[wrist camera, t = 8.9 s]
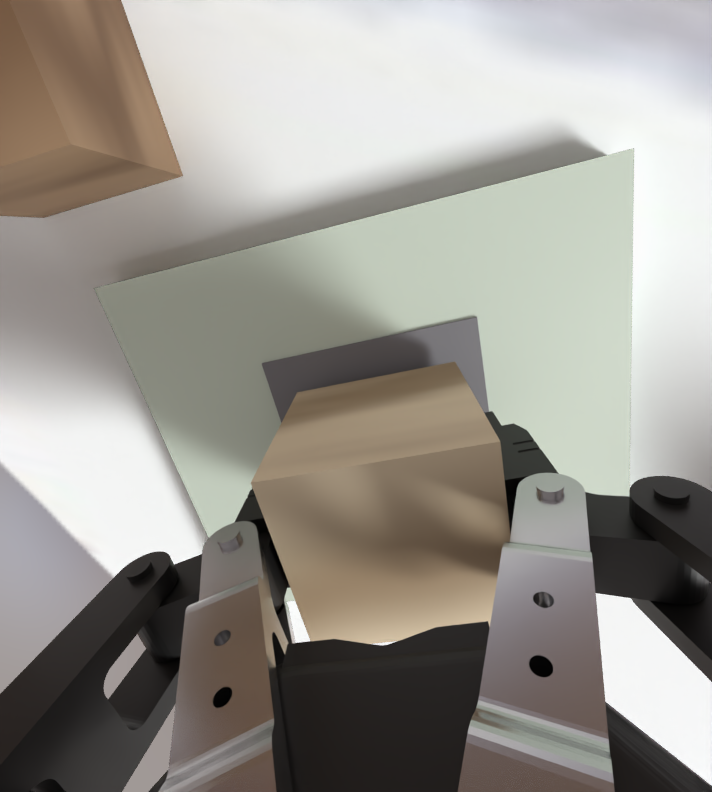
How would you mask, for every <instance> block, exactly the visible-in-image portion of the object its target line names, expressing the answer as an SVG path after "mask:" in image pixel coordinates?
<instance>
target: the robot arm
mask: <svg viewBox="0 0 712 792" xmlns="http://www.w3.org/2000/svg"><path fill="white" fill-rule="evenodd" d="M484 413H485V415H486V417H487V419H488V421H489V422H490V424H491V426H492V428H493V429H494V431H495V433H496V435H497V436H498V438H499V440H500V443H501V452H502V461H503V470H504V480H505V489H506V498H507V507H508V516H509V526H510V542H506V541H505V542H504V543H503V547H502V552H501V559H500V565H499V572H498V578H497V584H496V591H495V597H494V603H493V610H492V616H491V623H490V627H489V623H488V621H486V622H477V623H468V624H459V625H450V626H442V627H435V628H432V629H430V630H427V631H424V632H422V633H419V634H416V635H413V636H411V637H408V638H405V639H403V640H400V641H397V642H395V643H392V644H389V645H384V646H380V645H372V644H366V643H359V642H352V641H346V640H339V639H328V640H319V641H310V642H301V643H295V638H294V633H293V628H292V623H291V618H290V613H289V608H288V605H287V602H286V600H285V594H286V591H287V588H290V585H289V583H288V580H287V577H286V575H285V572H284V569H283V567H282V564H281V562H280V559H279V556H278V554H277V551H276V548H275V546H274V543H273V540H272V538H271V535H270V533H269V530H268V527H267V525H266V522H265V519H264V517H263V514H262V512H261V509H260V506H259V504H258V501H257V498H256V496H255V493H254V491H253V488H252V489H251V490H250V492H249V494H248V498H246V500H245V502H244V504H243V506H242V508H241V510H240V512H239V514H238V516H237V518H236V520H235V522H234V523H232V524H229V525H226V526H224V527H223V528H221V529H219V530H218V531H216V532H215V533H214V534H212V535H211V536H210V537H209V539H208V540H207V541H206V543H205V544H204V546H203V550H202V554H201V555H199V556H196V557H193V558H191V559H188V560H186V561H183V562H180V563H178V564H175V565H174V564H173V562H172V560H171V558H170V556H169V554H167V553H165V552H153V553H149V554H146V555H144V556H142V557H140V558H138V559H136V560H134V561H133V562H131V563H130V564H128V565H127V566H126V567H124V568H123V569H122V570H121V571H120V572H119V573H118V574H117V575H116V576H115V577H114V578H113V579H112V580H111V581H110V582H109V583H108V584H107V585H106V586H105V587H104V588H103V590H102V591H100V592H99V594H98V595H97V596H96V597H95V598H94V599H93V600H92V601H91V602H90V603H89V604H88V605H87V606H86V607H85V608H84V609H83V610H82V611H81V612H80V613H79V614H78V615H77V616H76V617H75V618H74V619H73V620H72V621H71V622H70V623H69V624H68V625H67V626H66V627H65V628H64V629H63V631H61V632H60V633H59V634H58V636H56V638H55V639H54V640H53V641H52V642H51V643H50V644H49V645H48V646H47V647H46V648H45V649H44V650H43V651H42V652H41V653H40V654H39V655H38V656H37V657H36V658H35V659H34V660H33V661H32V662H31V663H30V664H29V665H28V666H27V667H26V668H25V669H24V670H23V671H22V672H21V673H20V674H19V675H18V676H17V677H16V678H15V679H14V681H13V682H12V683H11V684H10V685H9V686H8V687H7V688H6V689H5V690H4V691H3V692H2V693H1V694H0V792H122V791H123V789H124V787H125V786H126V784H127V782H128V781H129V779H130V777H131V776H132V774H133V772H134V771H135V769H136V768H137V766H138V764H139V763H140V761H141V759H142V758H143V756H144V754H145V753H146V751H147V749H148V748H149V746H150V745H151V743H152V741H153V740H154V738H155V736H156V735H157V733H158V731H159V730H160V728H161V726H162V725H163V723H164V721H165V720H166V718H167V716H168V715H169V713H170V712H171V710H172V708H173V706H174V705H175V714H174V723H173V733H172V742H171V751H170V762H169V769H168V771H167V772H166V773H165V774H164V775H163V776H162V777H161V778H160V780H159V781H158V782H157V783H156V784H155V785H154V786H153V787H152V788H151V790H150V791H149V792H712V786H711V785H710V784H709V783H707V782H706V781H705V780H703V779H702V778H701V777H700V776H698V775H697V774H696V773H695V772H693V771H692V770H691V769H690V768H688V767H687V766H686V765H685V764H683V763H682V762H681V761H679V760H678V759H677V758H676V757H674V756H673V755H672V754H671V753H669V752H668V751H667V750H666V749H664V748H663V747H662V746H661V745H659V744H658V743H657V742H655V741H654V740H653V739H652V738H650V737H649V736H648V735H647V734H645V733H644V732H643V731H642V730H640V729H639V728H638V727H636V726H635V725H634V724H633V723H631V722H630V721H629V720H628V719H626V718H625V717H624V716H623V715H621V714H620V713H619V712H618V711H616V710H615V709H614V708H612V707H611V706H610V705H609V704H607V703H606V702H605V694H604V683H603V672H602V661H601V650H600V638H599V627H598V616H597V605H596V594H595V593H600V594H607V595H614V596H621V597H628V598H631V599H632V600H633V602H634V603H635V604H636V605H637V606H638V607H639V609H640V610H641V611H642V612H643V613H644V614H645V615H646V616H647V617H648V618H649V619H650V620H651V621H652V622H653V623H654V624H655V625H656V626H657V627H658V628H659V629H660V630H661V631H662V632H663V633H664V634H665V635H666V636H667V637H668V638H669V639H670V640H671V641H672V642H673V643H674V644H675V645H676V646H677V647H678V648H679V649H680V650H681V651H682V652H683V653H684V654H685V655H686V656H687V657H688V658H689V659H690V660H691V661H692V662H693V663H694V664H695V665H696V666H697V667H698V668H699V669H700V670H701V671H702V672H703V673H704V674H705V675H706V676H707V677H708V678H709V680H710V681H711V682H712V492H711V491H710V490H708V489H706V488H704V487H702V486H700V485H698V484H696V483H694V482H691V481H688V480H685V479H681V478H676V477H669V476H653V477H647V478H643V479H640V480H638V481H636V482H635V483H634V484H632V486H631V487H630V494H629V496H611V495H598V494H592V493H588V492H585V490H584V488H583V486H582V485H581V484H580V483H579V482H578V481H577V480H575V479H573V478H571V477H569V476H566V475H562V474H559V473H558V472H557V470H556V469H555V468H554V466H553V465H552V464H551V462H550V461H549V459H548V458H547V457H546V455H545V454H544V453H543V451H542V450H541V449H540V448H539V446H538V445H537V443H536V442H535V441H534V439H533V438H532V436H531V435H530V434H529V432H528V431H527V430H526V429H524V428H522V427H520V426H518V425H516V424H514V423H513V424H508V425H502V426H501V424H500V422H499V421H498V419H497V417H496V416H495V414H494V413H493V411H490V412H484ZM137 634H138V635H139V637H140V639H141V641H142V642H143V644H144V646H145V647H146V650H145V651H144V652H143V654H142V655H141V657H140V658H139V659H138V661H137V662H136V663H135V665H134V666H133V667H132V668H131V670H130V671H129V673H128V674H127V675H126V676H125V678H124V679H123V680H122V682H121V683H120V685H119V686H118V687H117V689H116V690H115V691H114V693H113V694H112V695H111V697H110V698H109V699H107V698H106V696H105V694H104V689H103V687H104V680H105V677H106V675H107V673H108V671H109V669H110V667H111V666H112V665H113V664H114V662H115V661H116V660H117V659H118V657H119V656H120V655H121V653H122V652H123V651H124V650H125V648H126V647H127V646H128V645H129V643H130V642H131V641H132V640H133V638H134V637H135V636H136V635H137ZM175 703H176V704H175Z"/></svg>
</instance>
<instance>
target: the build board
mask: <svg viewBox="0 0 712 792" xmlns="http://www.w3.org/2000/svg"><path fill="white" fill-rule="evenodd" d="M633 192H634V148H633V149H629V150H625V151H621V152H618V153H614V154H610V155H606V156H602V157H598V158H594V159H591V160H587V161H583V162H579V163H575V164H571V165H567V166H564V167H560V168H556V169H552V170H548V171H544V172H540V173H537V174H533V175H529V176H525V177H521V178H517V179H513V180H510V181H506V182H502V183H498V184H494V185H490V186H486V187H483V188H479V189H475V190H471V191H467V192H463V193H459V194H456V195H452V196H448V197H444V198H440V199H436V200H432V201H429V202H425V203H421V204H417V205H413V206H409V207H405V208H402V209H398V210H394V211H390V212H386V213H382V214H378V215H375V216H371V217H367V218H363V219H359V220H355V221H351V222H348V223H344V224H340V225H336V226H332V227H328V228H324V229H321V230H317V231H313V232H309V233H305V234H301V235H297V236H294V237H290V238H286V239H282V240H278V241H274V242H270V243H267V244H263V245H259V246H255V247H251V248H247V249H243V250H240V251H236V252H232V253H228V254H224V255H220V256H216V257H213V258H209V259H205V260H201V261H197V262H193V263H189V264H186V265H182V266H178V267H174V268H170V269H166V270H162V271H159V272H155V273H151V274H147V275H143V276H139V277H135V278H132V279H128V280H124V281H120V282H116V283H112V284H108V285H105V286H101V287H97V288H94V290H95V292H96V294H97V296H98V299H99V301H100V303H101V305H102V307H103V309H104V312H105V314H106V316H107V318H108V320H109V322H110V325H111V327H112V329H113V331H114V333H115V335H116V338H117V340H118V342H119V344H120V346H121V349H122V351H123V353H124V355H125V357H126V359H127V362H128V364H129V366H130V368H131V370H132V372H133V375H134V377H135V379H136V381H137V383H138V385H139V388H140V390H141V392H142V394H143V396H144V399H145V401H146V403H147V405H148V407H149V409H150V412H151V414H152V416H153V418H154V420H155V422H156V425H157V427H158V429H159V431H160V433H161V435H162V438H163V440H164V442H165V444H166V446H167V449H168V451H169V453H170V455H171V457H172V459H173V462H174V464H175V466H176V468H177V470H178V472H179V475H180V477H181V479H182V481H183V483H184V485H185V488H186V490H187V492H188V494H189V496H190V499H191V501H192V503H193V505H194V507H195V509H196V512H197V514H198V516H199V518H200V520H201V522H202V525H203V527H204V529H205V531H206V533H207V535H208V538H209V537H210V536H211V535H212V534H214V533H215V532H216V531H218V530H219V529H221V528H223V527H224V526H226V525H229V524H232V523H234V522H235V520H236V518H237V516H238V514H239V512H240V510H241V508H242V506H243V504H244V502H245V500H246V498H248V494H249V492H250V490H251V489H252V485H251V481H252V479H253V477H254V475H255V473H256V472H257V470H258V468H259V466H260V464H261V462H262V460H263V458H264V456H265V454H266V452H267V450H268V448H269V446H270V444H271V442H272V440H273V438H274V436H275V435H276V433H277V431H278V429H279V427H280V425H281V423H282V421H283V419H284V417H285V415H286V413H287V411H288V409H289V407H290V405H291V403H292V401H293V400H294V398H295V396H296V394H297V392H302V391H307V390H312V389H317V388H322V387H327V386H332V385H337V384H343V383H348V382H353V381H358V380H363V379H368V378H373V377H378V376H384V375H389V374H394V373H399V372H404V371H409V370H414V369H419V368H424V367H430V366H435V365H440V364H445V363H450V362H456V364H457V366H458V368H459V369H460V371H461V373H462V375H463V376H464V378H465V380H466V382H467V383H468V385H469V387H470V389H471V391H472V392H473V394H474V396H475V398H476V399H477V401H478V403H479V405H480V406H481V408H482V410H483V412H490V411H493V413H494V414H495V416H496V417H497V419H498V421H499V422H500V424H501V426H502V425H508V424H513V423H514V424H516V425H518V426H520V427H522V428H524V429H526V430H527V431H528V432H529V434H530V435H531V436H532V438H533V439H534V441H535V442H536V443H537V445H538V446H539V448H540V449H541V450H542V451H543V453H544V454H545V455H546V457H547V458H548V459H549V461H550V462H551V464H552V465H553V466H554V468H555V469H556V470H557V472H558V473H559V474H562V475H566V476H569V477H571V478H573V479H575V480H577V481H578V482H579V483H580V484H581V485H582V486H583V488H584V490H585V492H588V493H592V494H598V495H611V496H629V487H630V414H631V340H632V266H633ZM285 600H286V602H287V601H295V598H294V596H293V593H292V590H291V588H287V591H286V594H285Z"/></svg>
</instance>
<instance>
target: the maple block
mask: <svg viewBox="0 0 712 792" xmlns="http://www.w3.org/2000/svg"><path fill="white" fill-rule="evenodd" d="M251 485H252V488H253V491H254V493H255V496H256V498H257V501H258V504H259V506H260V509H261V512H262V514H263V517H264V519H265V522H266V525H267V527H268V530H269V533H270V535H271V538H272V540H273V543H274V546H275V548H276V551H277V554H278V556H279V559H280V562H281V564H282V567H283V569H284V572H285V575H286V577H287V580H288V583H289V585H290V588H291V590H292V593H293V596H294V598H295V601H296V604H297V606H298V609H299V611H300V614H301V617H302V619H303V622H304V625H305V627H306V630H307V633H308V635H309V638H310V640H311V641H319V640H328V639H339V640H346V641H352V642H359V643H366V644H373V643H382V642H392V641H400V640H403V639H405V638H408V637H411V636H413V635H416V634H419V633H422V632H424V631H427V630H430V629H432V628H435V627H442V626H450V625H459V624H468V623H477V622H486V621H488V623H489V627H490V623H491V616H492V610H493V603H494V597H495V591H496V584H497V578H498V572H499V565H500V559H501V552H502V547H503V543H504V542H505V541H506V542H510V526H509V516H508V507H507V498H506V489H505V480H504V470H503V461H502V452H501V443H500V440H499V438H498V436H497V435H496V433H495V431H494V429H493V428H492V426H491V424H490V422H489V421H488V419H487V417H486V415H485V413H484V412H483V410H482V408H481V406H480V405H479V403H478V401H477V399H476V398H475V396H474V394H473V392H472V391H471V389H470V387H469V385H468V383H467V382H466V380H465V378H464V376H463V375H462V373H461V371H460V369H459V368H458V366H457V364H456V362H450V363H445V364H440V365H435V366H430V367H424V368H419V369H414V370H409V371H404V372H399V373H394V374H389V375H384V376H378V377H373V378H368V379H363V380H358V381H353V382H348V383H343V384H337V385H332V386H327V387H322V388H317V389H312V390H307V391H302V392H297V394H296V396H295V398H294V400H293V401H292V403H291V405H290V407H289V409H288V411H287V413H286V415H285V417H284V419H283V421H282V423H281V425H280V427H279V429H278V431H277V433H276V435H275V436H274V438H273V440H272V442H271V444H270V446H269V448H268V450H267V452H266V454H265V456H264V458H263V460H262V462H261V464H260V466H259V468H258V470H257V472H256V473H255V475H254V477H253V479H252V481H251Z"/></svg>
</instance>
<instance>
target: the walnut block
mask: <svg viewBox="0 0 712 792" xmlns="http://www.w3.org/2000/svg"><path fill="white" fill-rule="evenodd" d="M181 176H183V175H182V172H181V169H180V166H179V164H178V161H177V158H176V155H175V152H174V149H173V146H172V144H171V141H170V138H169V135H168V132H167V129H166V127H165V124H164V121H163V118H162V115H161V112H160V110H159V107H158V104H157V101H156V98H155V95H154V93H153V90H152V87H151V84H150V81H149V78H148V76H147V73H146V70H145V67H144V64H143V61H142V59H141V56H140V53H139V50H138V47H137V44H136V41H135V39H134V36H133V33H132V30H131V27H130V24H129V22H128V19H127V16H126V13H125V10H124V7H123V5H122V2H121V0H0V216H17V217H40V218H44V217H48V216H51V215H54V214H58V213H61V212H64V211H68V210H71V209H74V208H78V207H81V206H84V205H88V204H91V203H94V202H98V201H101V200H104V199H108V198H111V197H114V196H118V195H121V194H124V193H128V192H131V191H134V190H138V189H141V188H144V187H148V186H151V185H154V184H158V183H161V182H164V181H168V180H171V179H174V178H178V177H181Z"/></svg>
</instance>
